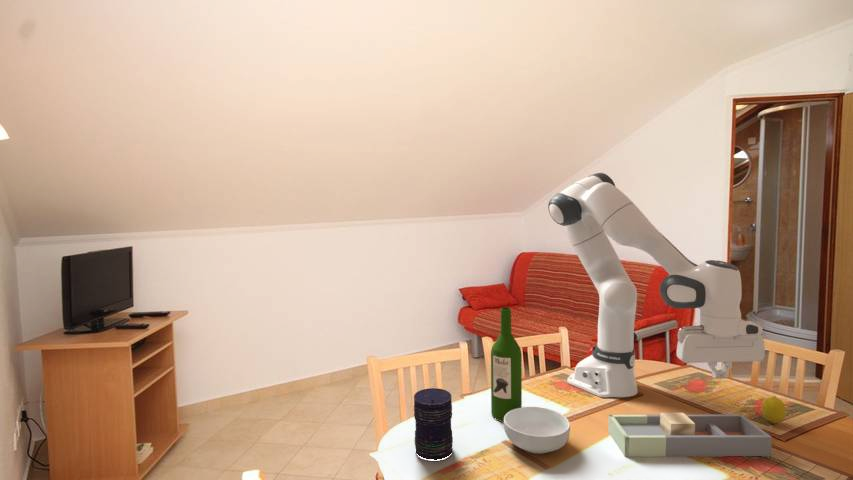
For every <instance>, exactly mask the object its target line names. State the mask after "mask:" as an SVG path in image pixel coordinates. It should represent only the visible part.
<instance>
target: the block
mask: <svg viewBox="0 0 853 480" xmlns="http://www.w3.org/2000/svg"><path fill="white" fill-rule="evenodd" d="M659 415H660V428H661V429H662V430H663V431H664V432H665V433H666V434H667V435H695V423H694V422H693V421H692V420H691V419H690V418H688V417H687V416H686V415H687V414H685V412H660V413H659Z"/></svg>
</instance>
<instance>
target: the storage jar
mask: <svg viewBox="0 0 853 480" xmlns="http://www.w3.org/2000/svg"><path fill="white" fill-rule="evenodd" d="M452 398H453V397H452V393H450V391H448V390H446V389H443V388H435V387H433V388H432V387H431V388H424V389H420V390H419V391H418V390H417V392H415V393H414V395H413V413H414V414H413V416H414V420H415V431H414V445H415V446H414V447H415V449H416V453H417V454H418V455H419V456H421V457H423V458H426V459H434V460H437V459H442V458H445V457H447V456H449V455H450V454H451V453H452V454H453V443H454V439H453V430H452V418H453V417H452V416H453V412H452V411H453V404H452ZM416 453H415V454H416Z"/></svg>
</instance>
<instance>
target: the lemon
mask: <svg viewBox="0 0 853 480" xmlns="http://www.w3.org/2000/svg"><path fill="white" fill-rule="evenodd" d="M761 414H762V416H763V417H764V418H765V419H766V421H768V422H770V424H772V423H773V425H775V424H776V423H781V422H783V421H784V420H785V418H786V415H787V408H786V406H785V403H784V402H783V400H781V399H780V398H778V397H777V396H776V395H775V396H774V395H771V396H768V397H766V398H765V399H764V400H763V401H762V403H761Z"/></svg>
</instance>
